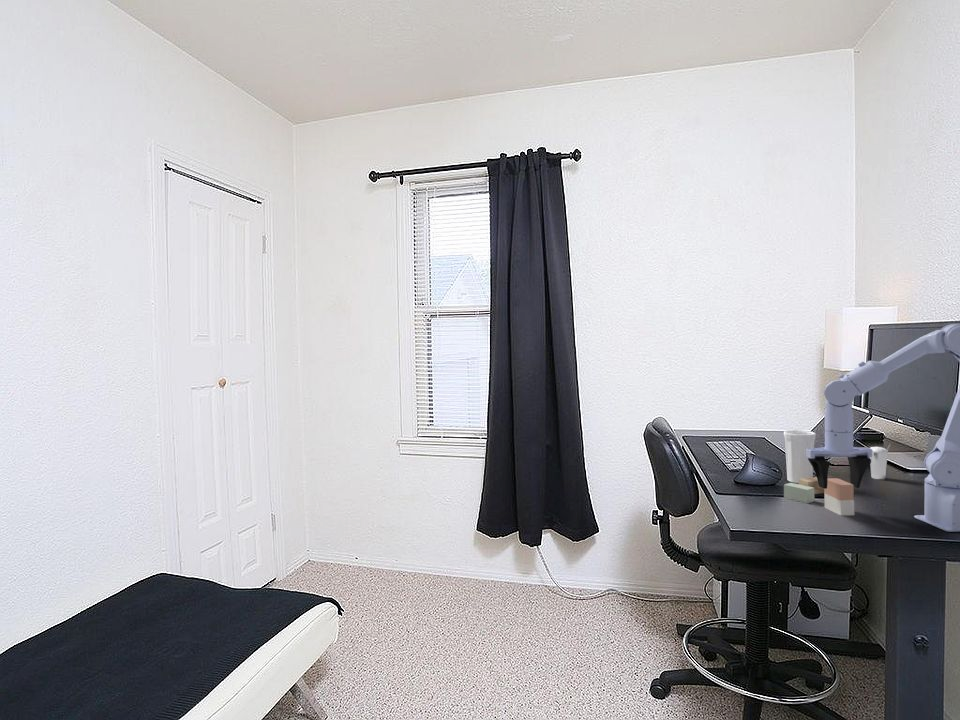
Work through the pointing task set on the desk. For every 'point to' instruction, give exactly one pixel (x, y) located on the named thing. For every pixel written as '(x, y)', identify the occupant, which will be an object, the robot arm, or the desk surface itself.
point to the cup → (798, 454)
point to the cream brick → (839, 505)
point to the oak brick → (812, 484)
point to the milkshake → (879, 462)
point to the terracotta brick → (839, 489)
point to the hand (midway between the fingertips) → (839, 487)
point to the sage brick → (799, 492)
